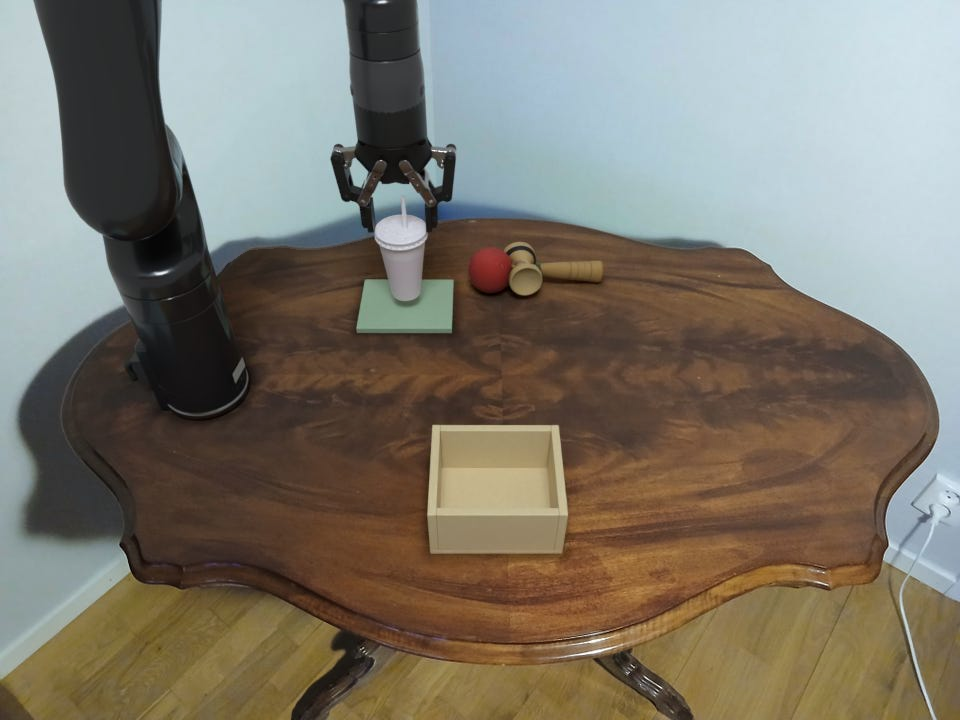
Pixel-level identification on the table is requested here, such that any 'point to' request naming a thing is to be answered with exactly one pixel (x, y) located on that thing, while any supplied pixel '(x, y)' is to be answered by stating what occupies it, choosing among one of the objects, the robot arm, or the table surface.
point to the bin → (496, 490)
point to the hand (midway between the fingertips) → (400, 228)
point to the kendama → (524, 269)
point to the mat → (406, 308)
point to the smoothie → (402, 252)
